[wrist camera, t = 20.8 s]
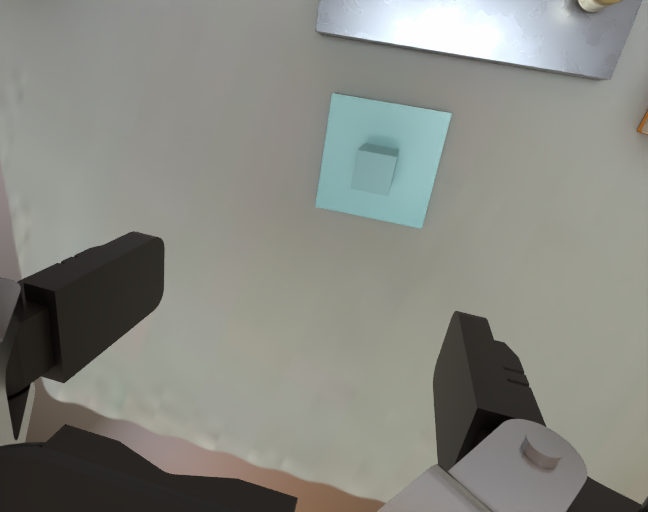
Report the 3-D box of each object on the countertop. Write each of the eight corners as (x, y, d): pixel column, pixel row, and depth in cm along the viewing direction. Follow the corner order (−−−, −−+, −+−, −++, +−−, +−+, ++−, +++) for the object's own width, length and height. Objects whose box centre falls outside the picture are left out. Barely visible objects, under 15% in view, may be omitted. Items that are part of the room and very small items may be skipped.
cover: (318, 202, 40) (301, 221, 34) (335, 93, 36) (319, 92, 30) (421, 224, 38) (422, 247, 32) (450, 112, 34) (457, 116, 29)
